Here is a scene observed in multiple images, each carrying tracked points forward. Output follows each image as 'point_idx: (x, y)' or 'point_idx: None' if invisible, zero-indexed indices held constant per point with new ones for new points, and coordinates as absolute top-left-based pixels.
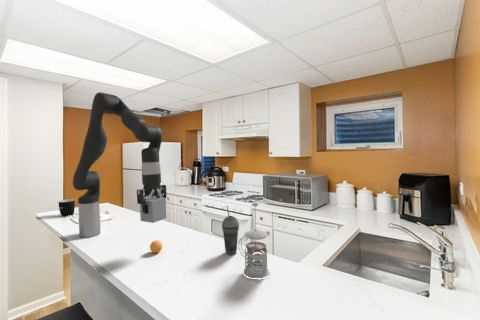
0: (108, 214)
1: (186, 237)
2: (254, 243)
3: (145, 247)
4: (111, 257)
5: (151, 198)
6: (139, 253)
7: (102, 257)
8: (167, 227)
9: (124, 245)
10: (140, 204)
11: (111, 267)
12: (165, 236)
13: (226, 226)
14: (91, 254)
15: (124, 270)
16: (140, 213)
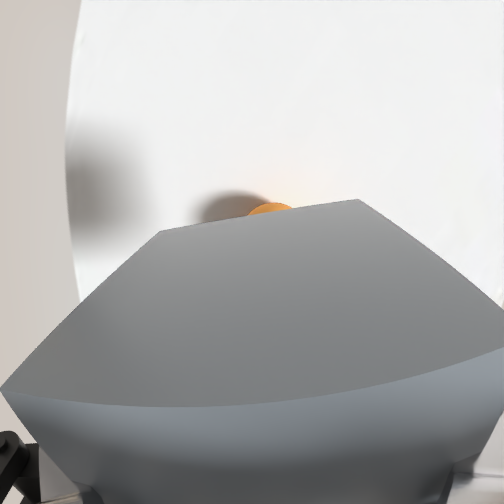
0: None
1: (473, 205)
2: None
3: (275, 119)
4: (110, 102)
5: (300, 494)
6: (211, 165)
7: (90, 73)
8: (494, 12)
9: (219, 5)
10: (59, 344)
11: (78, 203)
12: (432, 88)
13: None
14: (82, 12)
15: (102, 268)
16: (127, 262)
